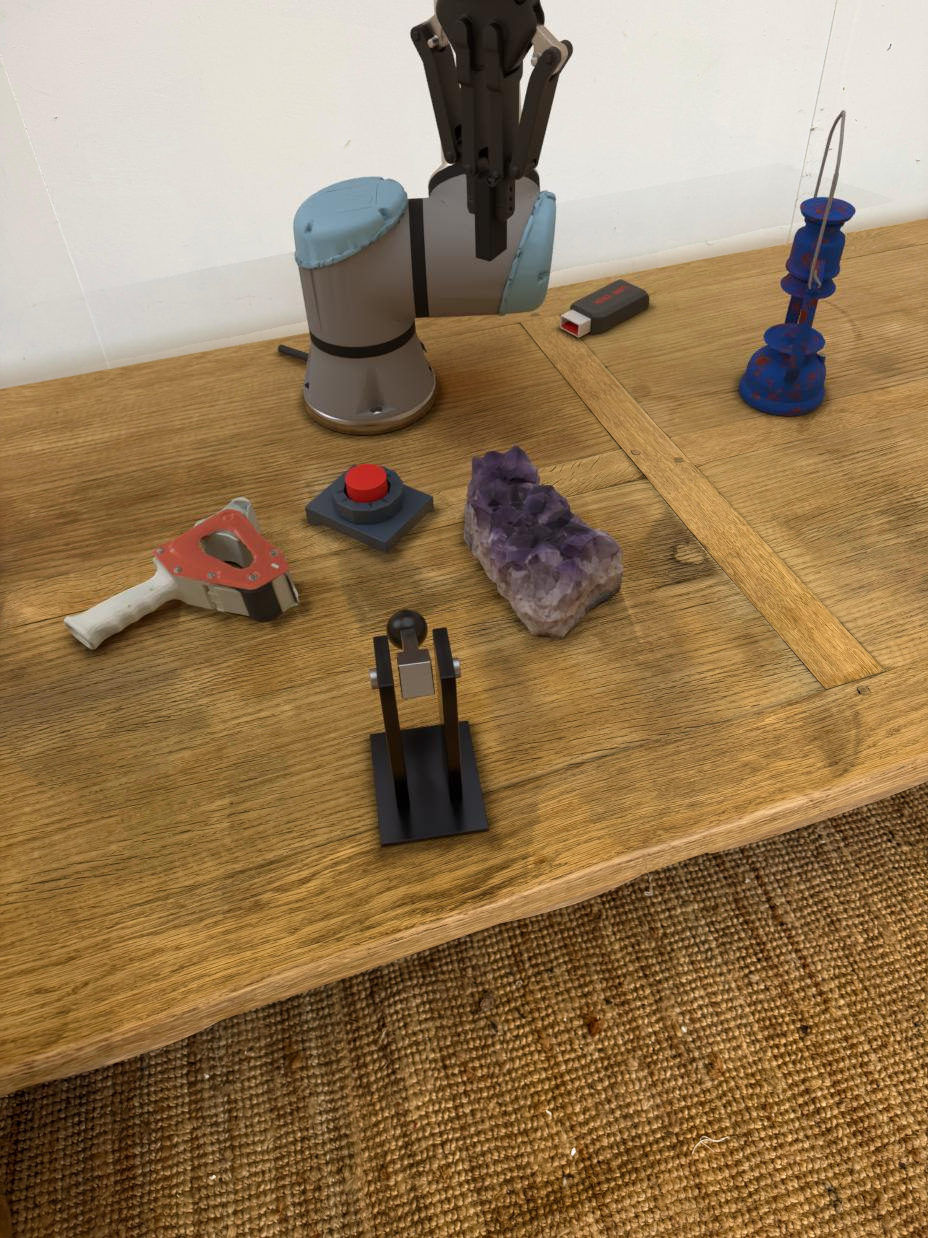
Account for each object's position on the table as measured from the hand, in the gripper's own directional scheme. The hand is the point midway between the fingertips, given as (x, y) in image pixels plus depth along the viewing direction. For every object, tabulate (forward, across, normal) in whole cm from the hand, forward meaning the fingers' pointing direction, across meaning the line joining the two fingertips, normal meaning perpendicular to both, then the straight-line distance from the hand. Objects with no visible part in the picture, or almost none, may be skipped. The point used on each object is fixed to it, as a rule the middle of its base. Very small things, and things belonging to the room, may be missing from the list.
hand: (491, 252), depth 81 cm
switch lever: (+14, +14, -32) cm, 38 cm away
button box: (+24, -7, -12) cm, 28 cm away
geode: (+25, +10, -10) cm, 28 cm away
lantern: (+25, +20, +30) cm, 44 cm away
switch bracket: (+24, +16, -35) cm, 46 cm away
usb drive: (+25, -5, +34) cm, 43 cm away
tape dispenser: (+25, -14, -29) cm, 41 cm away
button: (+21, -7, -12) cm, 25 cm away
